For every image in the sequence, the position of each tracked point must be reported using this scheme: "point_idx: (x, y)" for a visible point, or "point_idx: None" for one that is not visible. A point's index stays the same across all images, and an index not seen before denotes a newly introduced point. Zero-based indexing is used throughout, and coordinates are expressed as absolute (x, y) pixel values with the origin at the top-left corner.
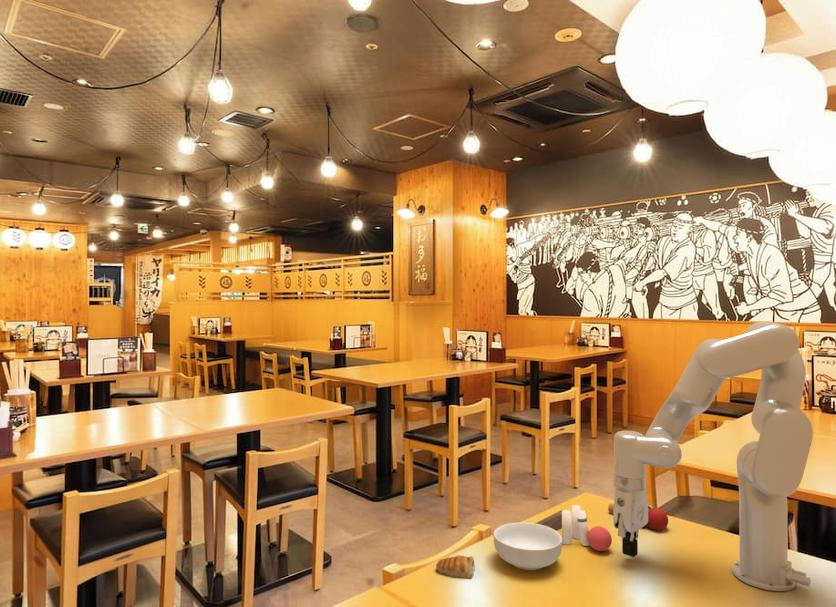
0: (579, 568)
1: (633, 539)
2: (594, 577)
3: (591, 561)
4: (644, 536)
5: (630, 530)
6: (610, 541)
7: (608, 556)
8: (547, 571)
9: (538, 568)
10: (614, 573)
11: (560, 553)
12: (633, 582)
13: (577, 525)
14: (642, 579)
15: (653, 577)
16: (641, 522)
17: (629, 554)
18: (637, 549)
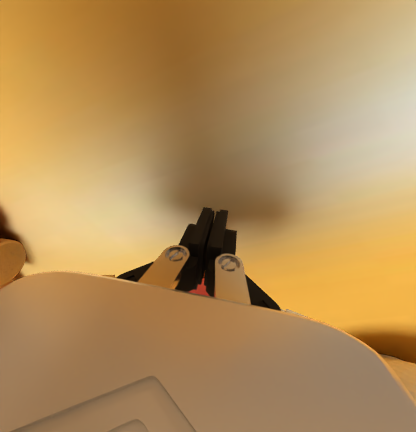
0: (348, 302)
1: (219, 260)
2: (396, 267)
3: (287, 289)
4: (47, 223)
5: (399, 382)
6: (203, 294)
7: None
8: (401, 345)
9: (401, 360)
10: (337, 230)
11: (414, 384)
12: (390, 159)
13: None
14: (344, 138)
15: (301, 104)
16: (147, 348)
17: (225, 228)
18: (200, 217)
